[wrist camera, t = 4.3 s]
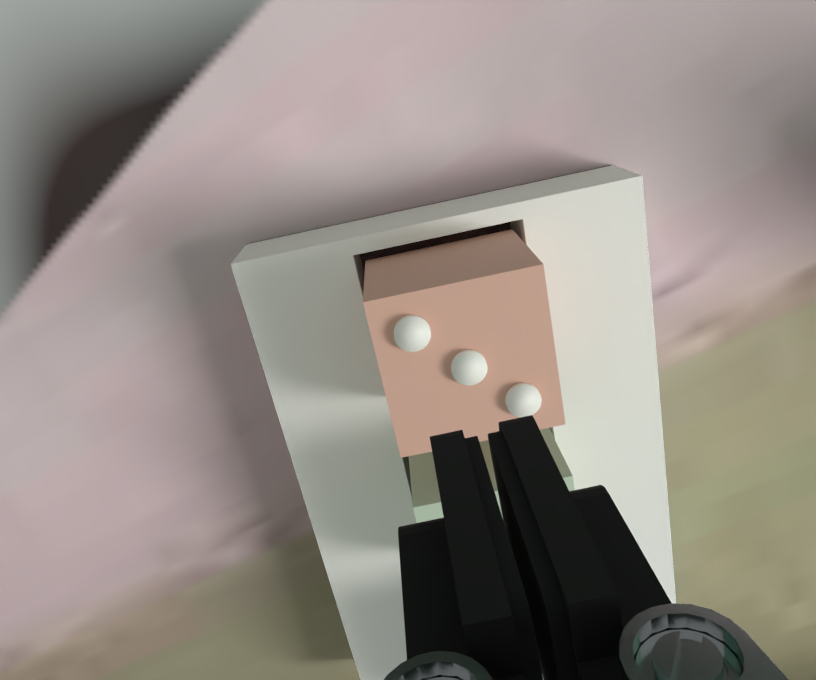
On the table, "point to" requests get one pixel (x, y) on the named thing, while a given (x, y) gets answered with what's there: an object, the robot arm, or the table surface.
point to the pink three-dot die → (463, 338)
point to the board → (366, 401)
